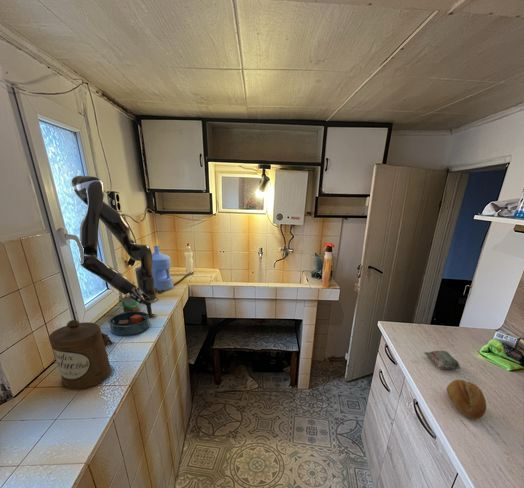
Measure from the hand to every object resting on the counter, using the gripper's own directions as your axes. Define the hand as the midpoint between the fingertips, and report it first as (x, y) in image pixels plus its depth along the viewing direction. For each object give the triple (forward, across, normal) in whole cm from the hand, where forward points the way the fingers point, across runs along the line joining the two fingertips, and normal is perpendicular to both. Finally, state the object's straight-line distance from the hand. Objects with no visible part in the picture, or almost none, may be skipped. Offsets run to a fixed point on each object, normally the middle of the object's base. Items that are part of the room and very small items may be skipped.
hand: (149, 302), depth 146 cm
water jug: (+11, +48, 0) cm, 49 cm away
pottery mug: (-10, -26, +22) cm, 35 cm away
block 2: (0, -9, +10) cm, 13 cm away
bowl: (-1, -10, +13) cm, 17 cm away
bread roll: (+71, -105, -59) cm, 140 cm away
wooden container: (-10, -47, +22) cm, 53 cm away
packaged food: (+81, -86, -69) cm, 137 cm away
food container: (0, +10, +12) cm, 16 cm away
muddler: (+5, 0, +6) cm, 8 cm away
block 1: (-4, -13, +14) cm, 19 cm away
